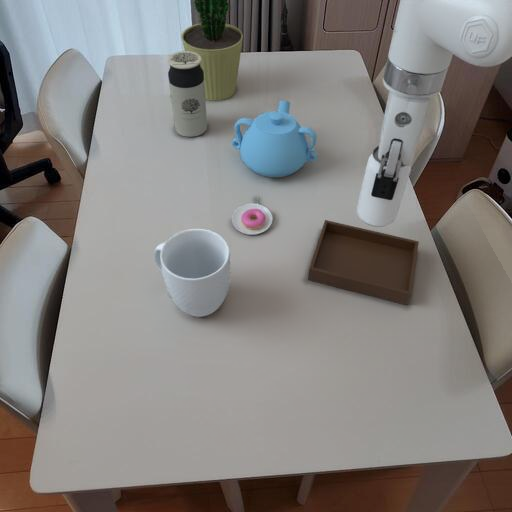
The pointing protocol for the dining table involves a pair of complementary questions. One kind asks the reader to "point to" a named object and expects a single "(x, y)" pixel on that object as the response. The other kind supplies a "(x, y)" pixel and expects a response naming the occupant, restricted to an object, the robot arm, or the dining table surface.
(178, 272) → the mug
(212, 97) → the potted cactus
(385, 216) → the can
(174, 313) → the dining table surface
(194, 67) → the travel mug
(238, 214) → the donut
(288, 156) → the teapot
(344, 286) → the tray
